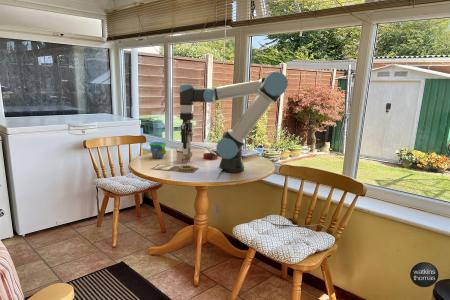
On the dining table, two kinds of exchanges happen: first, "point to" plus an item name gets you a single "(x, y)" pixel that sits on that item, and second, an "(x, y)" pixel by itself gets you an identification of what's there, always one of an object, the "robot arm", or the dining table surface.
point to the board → (176, 168)
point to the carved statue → (185, 156)
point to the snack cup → (158, 149)
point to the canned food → (210, 155)
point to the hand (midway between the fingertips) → (186, 153)
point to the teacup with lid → (181, 156)
